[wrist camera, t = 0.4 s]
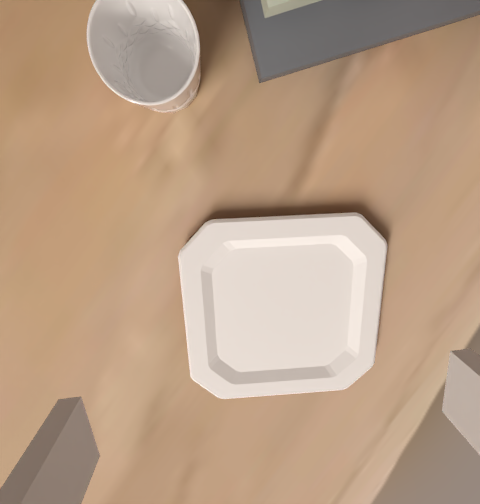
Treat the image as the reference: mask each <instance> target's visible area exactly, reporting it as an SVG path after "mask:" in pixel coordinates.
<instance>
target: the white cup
mask: <svg viewBox="0 0 480 504" xmlns="http://www.w3.org/2000/svg"><path fill="white" fill-rule="evenodd" d="M87 44H88V50H89V54H90V57H91V60H92V63H93V65H94V67H95V69H96V71H97V73H98V74H99V76H100V77H101V79H102V80H103V81H104V83H105V84H106V85H107V86H108V87H109V88H110V89H111V90H112V91H113V92H115V93H116V94H117V95H119V96H120V97H122V98H124V99H126V100H128V101H130V102H133V103H135V104H137V105H140V106H142V107H144V108H147V109H150V110H153V111H157V112H163V113H176V112H178V111H180V110H183V109H185V108H187V107H188V106H189V105H190V103H191V102H192V101H193V100H194V98H195V97H196V96H197V92H198V88H199V83H200V75H201V57H200V40H199V34H198V30H197V26H196V23H195V20H194V18H193V16H192V14H191V12H190V10H189V8H188V7H187V5H186V4H185V3H184V1H183V0H96V1H95V3H94V5H93V7H92V9H91V12H90V15H89V19H88V24H87Z"/></svg>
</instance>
